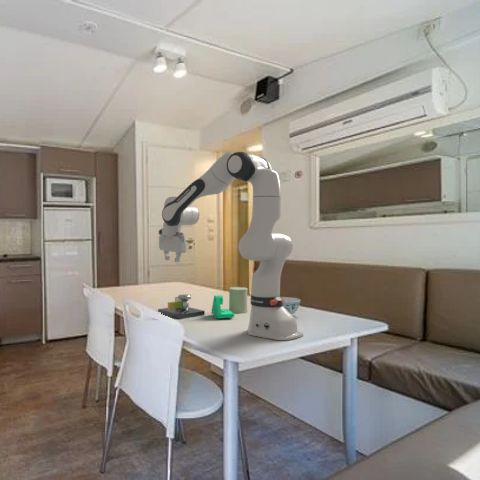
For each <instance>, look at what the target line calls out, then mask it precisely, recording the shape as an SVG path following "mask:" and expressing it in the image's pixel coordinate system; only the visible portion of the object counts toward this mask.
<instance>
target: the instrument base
mask: <svg viewBox="0 0 480 480" xmlns="http://www.w3.org/2000/svg"><path fill="white" fill-rule="evenodd" d="M176 301H181V299H179V295H178V296H175V297H174V302H176ZM157 312H161V313H163V314H165V315H164V316H166V315H168V316H167V317H170V316H171V318H174V319H179V320H183V319H190V318H195V317H201V316H205V315H206V314H205V310H203V309H199V308H195V307H194V308H193V307H190V306H189V310H188V311H181V308H178V309H171V310H169V309H168V307H163V308H159V309H157ZM163 314H162V315H163Z"/></svg>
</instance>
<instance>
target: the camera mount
mask: <svg viewBox="0 0 480 480" xmlns="http://www.w3.org/2000/svg"><path fill="white" fill-rule="evenodd" d="M223 304H224V297H223V295H220V294H219V295H214V296H213V300H212V306H211V314H212V315H213V318H215V319H231V318H235V313H233V312H231V311H229V308H228V309H227V308H221V306H222V305H223Z"/></svg>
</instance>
